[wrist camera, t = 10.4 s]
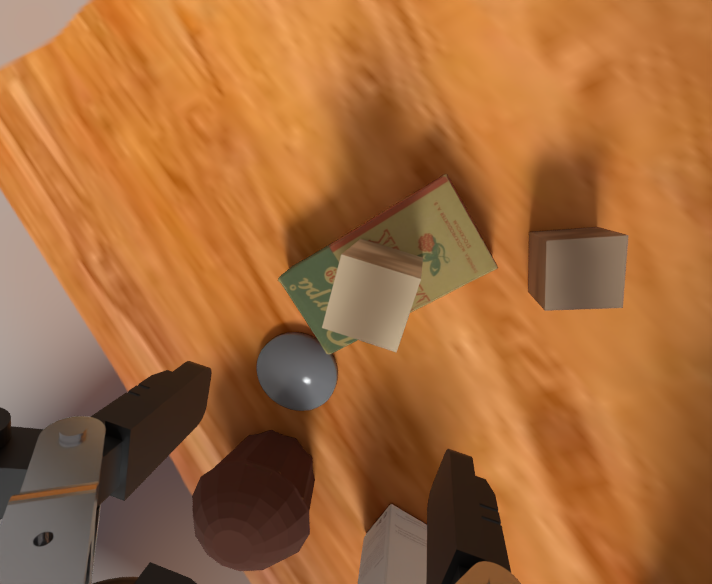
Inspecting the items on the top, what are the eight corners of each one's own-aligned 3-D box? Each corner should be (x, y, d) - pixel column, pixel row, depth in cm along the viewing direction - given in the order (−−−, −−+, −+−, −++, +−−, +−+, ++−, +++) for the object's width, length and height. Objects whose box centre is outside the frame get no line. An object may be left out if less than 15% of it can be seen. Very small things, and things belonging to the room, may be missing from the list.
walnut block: (597, 227, 31) (628, 235, 26) (594, 289, 32) (622, 307, 27) (529, 231, 32) (546, 240, 27) (528, 291, 33) (544, 310, 28)
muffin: (270, 524, 45) (228, 615, 35) (206, 452, 44) (144, 527, 34) (349, 479, 41) (326, 568, 32) (282, 400, 40) (236, 468, 31)
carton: (493, 259, 33) (501, 270, 29) (336, 341, 38) (325, 360, 34) (445, 172, 32) (447, 171, 28) (289, 267, 37) (272, 278, 33)
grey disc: (346, 346, 37) (344, 350, 36) (327, 416, 40) (325, 421, 39) (267, 321, 38) (264, 324, 37) (253, 391, 40) (250, 395, 40)
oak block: (423, 257, 30) (421, 278, 23) (403, 316, 31) (396, 352, 25) (360, 238, 30) (341, 254, 24) (344, 297, 32) (321, 327, 25)
